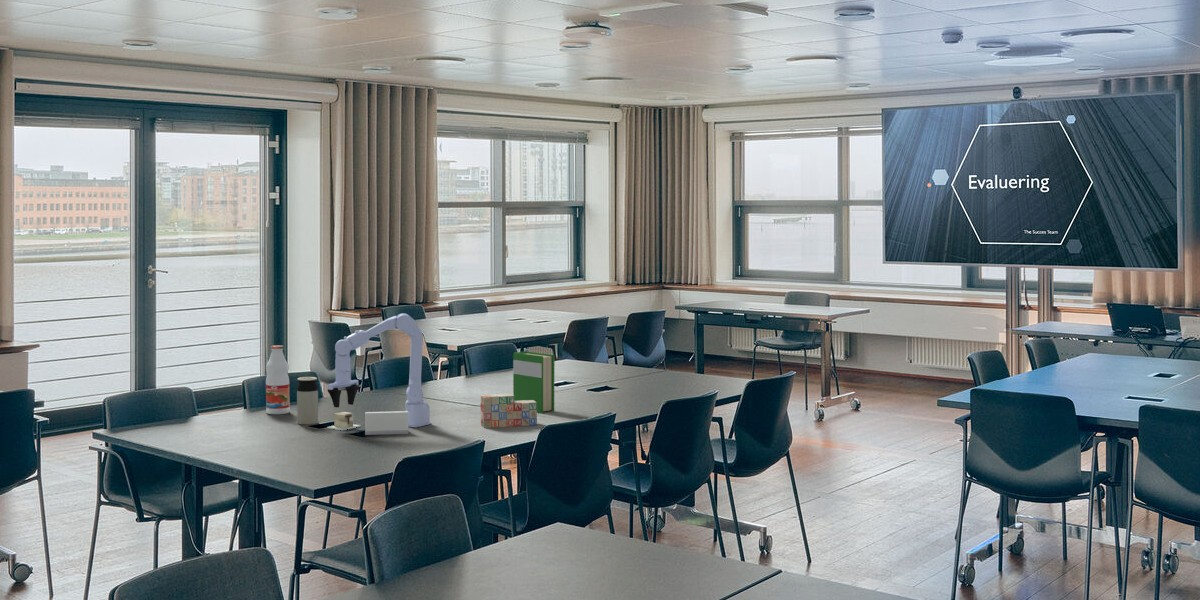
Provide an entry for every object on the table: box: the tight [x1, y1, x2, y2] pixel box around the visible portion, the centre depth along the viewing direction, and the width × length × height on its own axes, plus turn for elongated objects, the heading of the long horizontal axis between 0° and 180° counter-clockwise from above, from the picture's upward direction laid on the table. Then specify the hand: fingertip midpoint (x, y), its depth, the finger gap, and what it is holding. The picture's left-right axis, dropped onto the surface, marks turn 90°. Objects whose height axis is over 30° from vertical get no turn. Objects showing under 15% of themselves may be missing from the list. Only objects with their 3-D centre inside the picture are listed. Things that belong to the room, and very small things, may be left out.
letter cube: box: [333, 411, 354, 428], centre depth 442 cm, size 5×5×5 cm
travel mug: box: [296, 376, 319, 426], centre depth 451 cm, size 8×8×18 cm
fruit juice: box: [265, 344, 291, 415], centre depth 474 cm, size 9×9×28 cm
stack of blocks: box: [480, 393, 538, 429], centre depth 449 cm, size 21×6×12 cm, turn 106°
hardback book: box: [512, 350, 555, 414], centre depth 484 cm, size 18×7×24 cm, turn 46°
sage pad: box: [326, 423, 362, 432], centre depth 442 cm, size 10×8×1 cm
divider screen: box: [364, 410, 409, 436], centre depth 431 cm, size 16×5×8 cm, turn 100°
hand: (343, 405), depth 442 cm, fingers open, 7 cm apart
